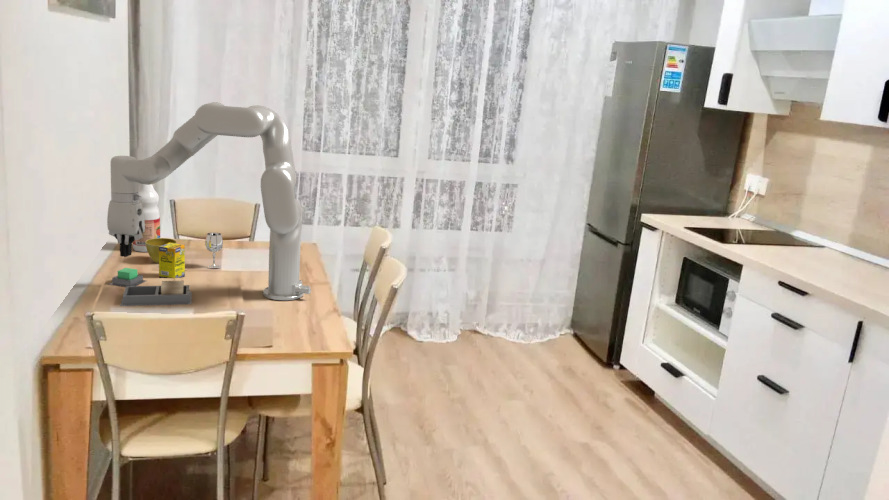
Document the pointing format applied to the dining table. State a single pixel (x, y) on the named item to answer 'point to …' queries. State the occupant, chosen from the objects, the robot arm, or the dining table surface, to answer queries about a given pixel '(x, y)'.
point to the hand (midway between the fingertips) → (125, 255)
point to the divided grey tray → (153, 296)
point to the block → (172, 287)
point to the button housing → (127, 281)
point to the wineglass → (214, 245)
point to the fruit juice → (148, 216)
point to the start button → (127, 273)
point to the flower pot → (156, 247)
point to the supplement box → (172, 260)
